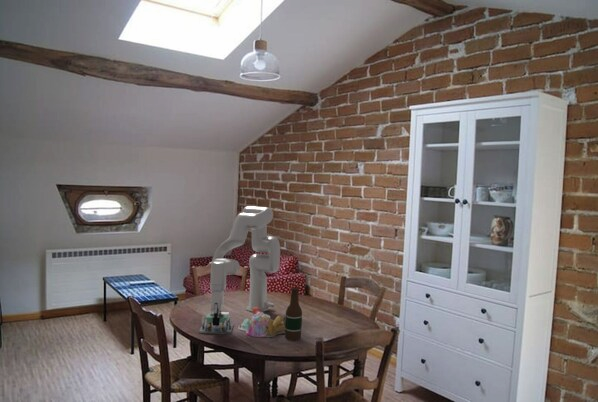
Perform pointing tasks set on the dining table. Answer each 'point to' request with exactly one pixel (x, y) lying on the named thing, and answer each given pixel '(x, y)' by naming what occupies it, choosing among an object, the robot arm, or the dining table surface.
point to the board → (222, 316)
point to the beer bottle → (293, 317)
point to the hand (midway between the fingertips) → (216, 322)
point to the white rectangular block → (226, 313)
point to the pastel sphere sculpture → (262, 325)
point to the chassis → (216, 327)
